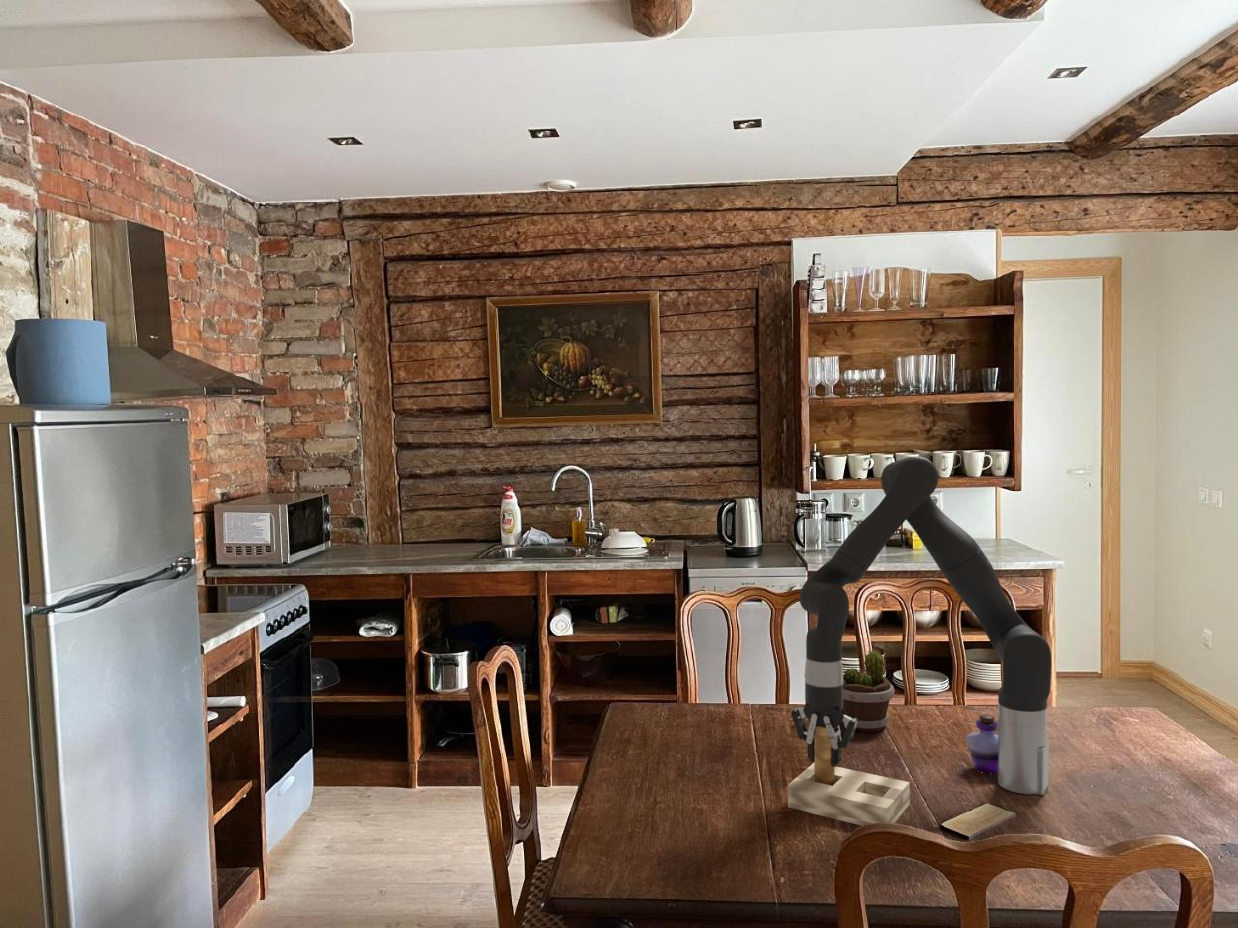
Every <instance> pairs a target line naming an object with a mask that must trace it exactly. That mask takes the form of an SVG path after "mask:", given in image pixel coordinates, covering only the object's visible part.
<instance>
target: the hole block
mask: <svg viewBox="0 0 1238 928" xmlns="http://www.w3.org/2000/svg"><path fill="white" fill-rule="evenodd" d="M910 784H911V783H910V781H905V780H900V779H895V778H892V777H891V778H890V777H886V776H881V775H877V774H874V773H873V774H872V773H867V772H864V771H858V770H854V769H849V768H845V767H841V766H840V767H839V766H836V767H835V784H834V785H833V786H831V785H826V784H822V783H817V782H814V762H812V764H811V765H809V767H807V768H806V769H805V770H803V772H801V773H800V774H799V775H798V776H796V778H794V779H793V780H792V781H791V782H789V784H787V807H788V808H790V809H795V810H798V811H802V812H805V813H806V812H807V813H809V814H814V815H817V816H818V815H819V816H822V817H826V818H830V819H834V820H838V821H842V822H845V823H851V824H855V825H858V826H862V827H865V826H864V825H867V824H874V823H894V824H895V823H896V822H897V821H898V820H899V818H900V817H901V816H902V814H903V813H904V812H905V811H906V809H907V808H908V807H909V806H910V805H911V803H910V802H911V801H910V797H911V796H910V793H911V792H910V791H911V790H910V787H911V785H910Z"/></svg>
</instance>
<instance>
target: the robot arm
mask: <svg viewBox="0 0 1238 928" xmlns="http://www.w3.org/2000/svg"><path fill="white" fill-rule="evenodd" d="M880 476H881V477H880V483H881V488H882V490H883V492H884V494H885V496H884V498H883V499H882V500H881V502H879V504H878V505H877V506H876V507H875V508H874V509H873V510H872V511H871V512H870V514H868V515H867V516H866V517H865V518H864V519H863V520H862V521H861V522H860V523H859V524H857V526H856V527H855V528H854V529H852V531H851V532H850V533H849V534H848V535H847V537H846V538H845V540H843V542H842V543H841V544H840V546H839V547H838V549H837V550H836V552H835V553H834V554H833V556H832V558H830V560H828V561H827V562H825V563H824V564H823V565H822V566H820V567H819V569H817V570H816V571H815V572H814V573H813V574H812V575H811V576H809V578H808V579H807V580H806V581H805V582H804V583H803V585H802V587H801V590H800V593H799V604H800V606H801V607H802V609H803V610H804V611H805V612H807V613H809V614H811V615H814V616H817V622H816V626H813V627H811V628H810V629H809V630H808V631H807V633H806V638H805V639H806V640H805V642H806V643H805V644H806V645H805V646H806V647H805V650H806V651H805V652H806V653H805V654H806V655H805V666H804V700H805V703H804V706H803V707H796V708H794V709H792V710H791V711H790V714H791V717H792V721H793V723H794V725H793V726H794V727H795V730H796V734H797V737H798V740H799V739H800V740H803V741H805V742H806V743H807V758H808V759H809V761H810V762H811V763H814V733H815V727H816V726H820V727H825V728H827V732H828V736H829V738H830V740H831V744H832V747H833V748H832V749H831V765H832V766H833V767H838V765H839V764H840V763H841V762H842V749H845V748H847V747H848V746H849V745H850V744H851V743H852V741H853V738H854V734H855V731H856V730H857V729H856V727H857V724H858V719H857V718H853V719H852V718H850V717H848V716H847V715H845V712H844V709H843V675H844V668H843V667H844V666H843V646H842V645H843V644H842V639H843V636H844V632H845V628H846V624H847V622H848V621H847V620H848V616H849V611H850V602H849V601H850V600H849V597H848V594H847V592H846V591H845V589H844V588H843V587H844V586H846V585H849V584H855V583H857V582H859V581H860V580H861V579H862V578H863V576H864V575H865V574H866V572H867V571H868V570H869V568H870V567H871V565H872V564H873V563H874V561H875V560H876V559H877V557H878V555H880V552H881V551H882V550H883V549H884V547H885V546H886V544H887V543H888V542H889V541H890V540H891V538H892V537H893V536H894V534H895V533H896V532H897V531H898V530H899V528H900V527H901V526H902V525H903V524H904V523H905V522H906V521H907V523H908V524H909V525H910V526H911V527H912V529H913V530H914V532H915V533H916V535H917V537H918V538H919V540H920V541H921V543H922V545H923V546H924V547H925V549H926V550H927V552H928V553H929V555H930V556H931V557H932V559H933V561H934V563H935V564H936V566H937V568H938V569H939V570H940V572H941V573H942V575H943V576H944V577H945V579H946V580H947V582H948V584H949V585H950V587H952V589H953V590H954V591H955V593H956V594H957V596H958V597H959V598H960V600H962V602H963V603H964V604H965V605H966V606H967V608H968V609H969V610H970V611H971V612H972V613H973V615H974V616H975V618H976V619H977V620H978V622H979V623H980V625H981V627H982V630H983V631H984V633H985V634H986V636H987V638H988V639H989V640H988V641H989V642H990V644H991V645H992V648H993V649H994V652H995V654H996V655H997V657H998V659H999V660H1000V661H1001V662H1002V665H1003V669H1002V670H1003V672H1002V686H1001V687H1000V688H999V690H998V695H997V696H998V697H997V700H998V701H997V704H998V705H997V707H998V708H997V710H998V712H997V718H998V719H997V723H998V729H997V735H998V774H997V783H998V785H999V786H1000V787H1002V789H1005V790H1007V791H1010V792H1013V793H1015V794H1016V793H1018V794H1024V795H1040V796H1043V795H1045V793H1046V790H1047V788H1048V787H1049V752H1050V751H1049V744H1050V742H1049V740H1048V738H1047V734H1048V733H1047V730H1048V729H1047V726H1048V725H1047V724H1048V723H1047V722H1048V720H1047V718H1048V715H1047V714H1048V713H1047V712H1048V708H1047V707H1048V699H1049V697H1050V694H1051V685H1052V682H1051V681H1052V653H1051V652H1052V651H1051V648H1050V645H1049V643H1048V642H1047V640H1046V639H1045V638H1044V637H1043V636H1041V634H1039V633H1038V632H1036V631H1035V630H1033V629H1032V628H1031V627H1030V626H1029V625H1028V624H1027V623H1026V622H1025V620H1024V619H1023V618H1022V617H1021V616H1020V614H1019V613H1018V612H1017V611H1016V610H1015V608H1014V607H1013V606H1012V604H1011V603H1010V602H1009V599H1008V598H1007V597H1006V595H1005V592H1004V590H1003V588H1002V587H1003V586H1002V584H1001V582H1000V580H999V577H998V575H997V573H996V571H995V569H994V567H993V565H992V564H991V562H990V560H989V559H988V557H987V556H986V555H985V553H984V552H983V550H982V548H981V547H980V546H979V544H978V542H976V540H975V539H974V538H973V536H971V535H970V534H969V533H968V532H967V531H965V530H964V529H963V528H961V527H960V526H959V525H958V524H957V523H956V522H954V520H951V518H949V517H948V516H947V515H946V514H945V513H944V512H943V511H942V509H940V507H938V505H937V503H936V502H935V500H934V499H933V498H932V496H931V495H933V493H934V492H935V490H936V489H937V486H938V483H939V472H938V469H937V467H936V466H935V464H934V463H933V462H932V461H931V460H929V459H928V458H927V457H924V456H909V457H905V458H903V459H898V460H896V461H893V462H890V463H889V464H887V465H886V466H885V467H884V468H883V469H882V471H881V475H880ZM805 716H806V718H807V720H808V721H809V726H808V728H807V724H806V721H805ZM842 720H843V721H844V724H843V726H844V728H845V731H844V733H843V737H841V729H840V725H841V723H843V722H842Z"/></svg>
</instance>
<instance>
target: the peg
mask: <svg viewBox="0 0 1238 928" xmlns="http://www.w3.org/2000/svg"><path fill="white" fill-rule="evenodd" d="M832 748H833V747H832V744H831V740H830V738H829V736H828V732H827V728H825V727H820V726H816V727H815V733H814V762H813V763H814V782H817V783H822V784H826V785H831V786H833V785H834V784H835V767H833V766H832V765H831V749H832Z"/></svg>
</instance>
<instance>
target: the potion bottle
mask: <svg viewBox="0 0 1238 928" xmlns="http://www.w3.org/2000/svg"><path fill="white" fill-rule="evenodd" d="M975 727H976V728H977V729H979V732H970V733H969V734H968V735H966V736H965V740H966V744H967V749H968V751H969V752H970V756H971V760H972V761H971V762H972V765H973V768H974V769H976V770H977V771H979V772H983V773H981V774H983V775H986V776H989V774H990V776H992V774H993V775H998V734H996V733H995V732H996V731H998V721H996V720H995V716H994V715H992V714H986V713H984V714H979V719H977V720H975ZM974 769H973V770H974ZM979 772H977V773H979ZM984 773H985V774H984ZM991 773H992V774H991ZM979 774H980V773H979Z"/></svg>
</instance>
